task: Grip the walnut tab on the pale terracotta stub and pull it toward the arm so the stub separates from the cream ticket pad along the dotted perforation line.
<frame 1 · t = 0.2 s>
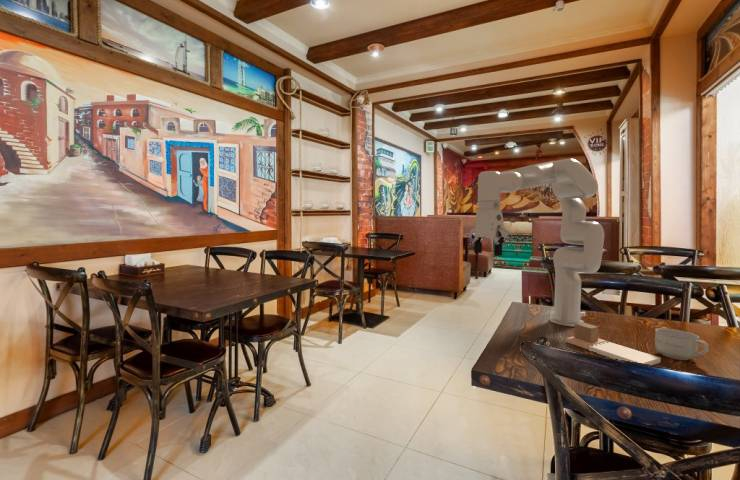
hand: (487, 254, 131), 31 cm above the table, tool pointing down, fingers open, 9 cm apart
teacup: (679, 359, 114), on the table
stub: (586, 334, 127), point 3 cm above the table, slide at 0.0 cm
ticket pad: (622, 356, 116), on the table
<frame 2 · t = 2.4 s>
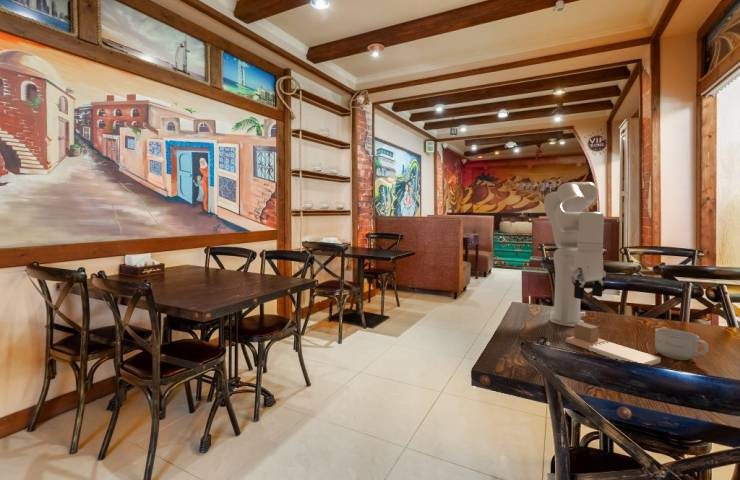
hand: (588, 297, 126), 17 cm above the table, tool pointing down, fingers open, 9 cm apart
nothing on the table moved.
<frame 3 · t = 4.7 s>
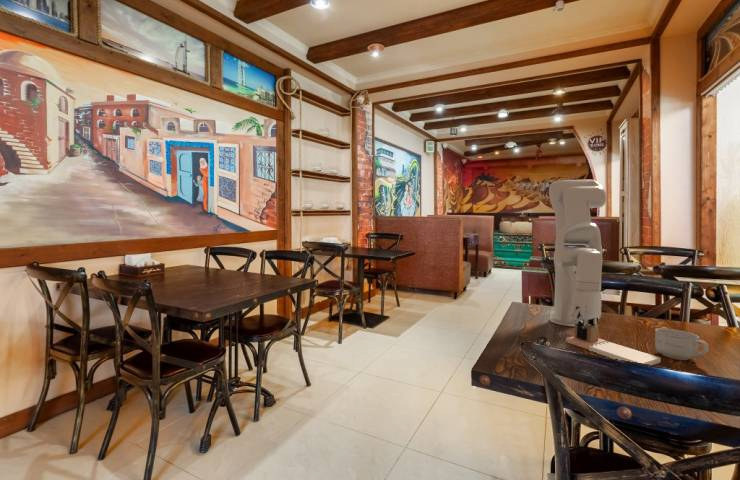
hand: (586, 337, 127), 2 cm above the table, tool pointing down, fingers closed on stub, 4 cm apart
stub: (586, 334, 127), point 3 cm above the table, slide at 0.0 cm, touching gripper
everything else where it was.
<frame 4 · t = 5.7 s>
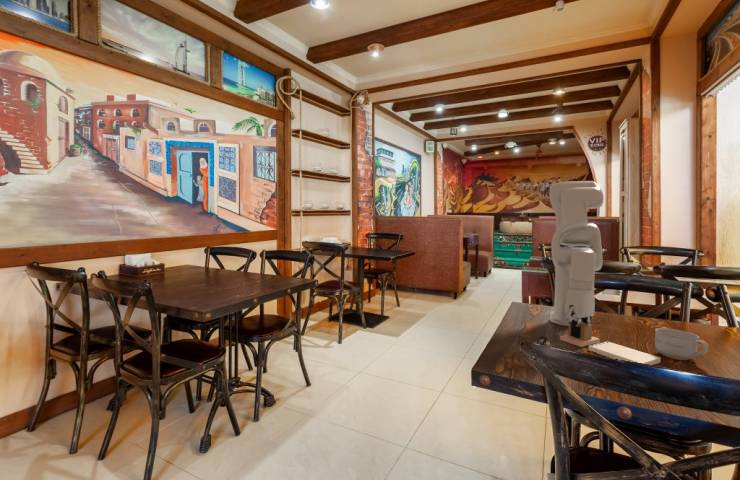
hand: (579, 335, 129), 2 cm above the table, tool pointing down, fingers closed on stub, 4 cm apart
stub: (579, 332, 129), point 3 cm above the table, slide at 2.3 cm, touching gripper
everything else where it was.
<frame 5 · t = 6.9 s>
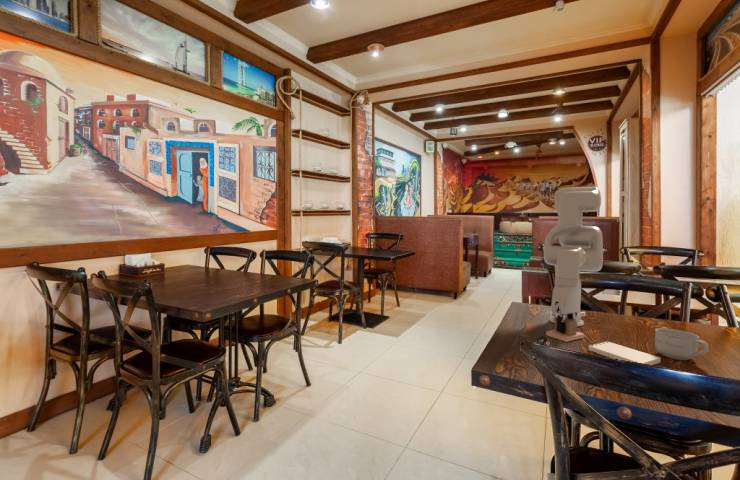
hand: (565, 330, 134), 2 cm above the table, tool pointing down, fingers closed on stub, 4 cm apart
stub: (565, 327, 134), point 3 cm above the table, slide at 7.9 cm, touching gripper
everything else where it was.
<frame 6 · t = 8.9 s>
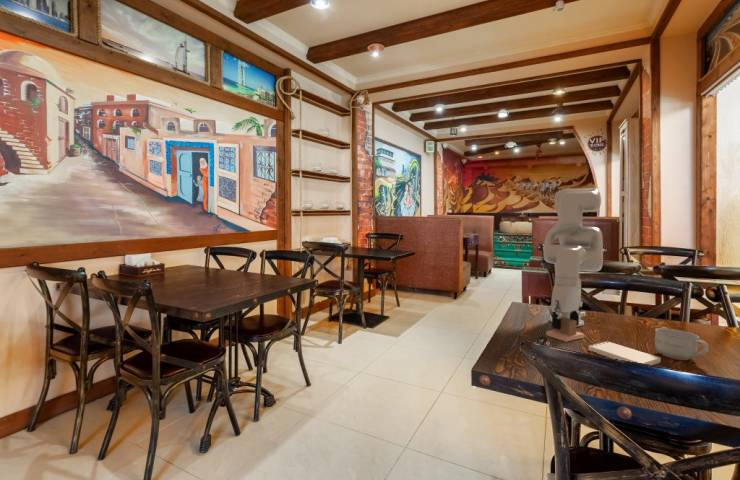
hand: (565, 326, 135), 4 cm above the table, tool pointing down, fingers open, 9 cm apart
stub: (565, 327, 134), point 3 cm above the table, slide at 8.0 cm
everything else where it was.
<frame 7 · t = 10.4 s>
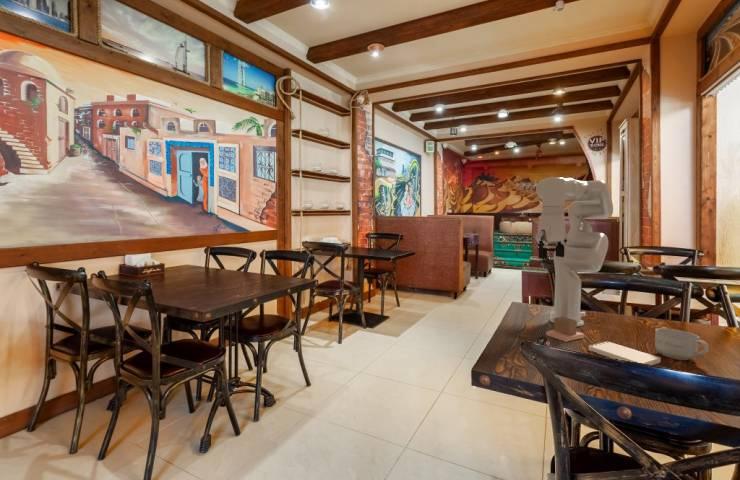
hand: (551, 257, 135), 29 cm above the table, tool pointing down, fingers open, 9 cm apart
nothing on the table moved.
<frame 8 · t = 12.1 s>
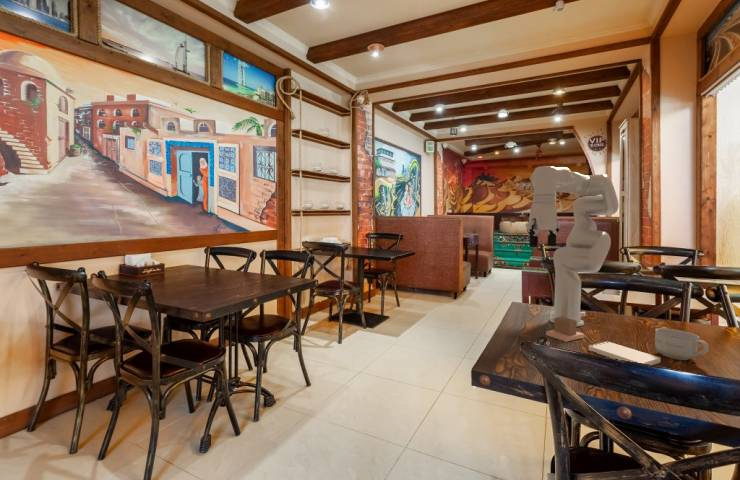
hand: (542, 246, 136), 33 cm above the table, tool pointing down, fingers open, 9 cm apart
nothing on the table moved.
at the end: stub slide at 8.0 cm; the gripper is holding nothing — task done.
